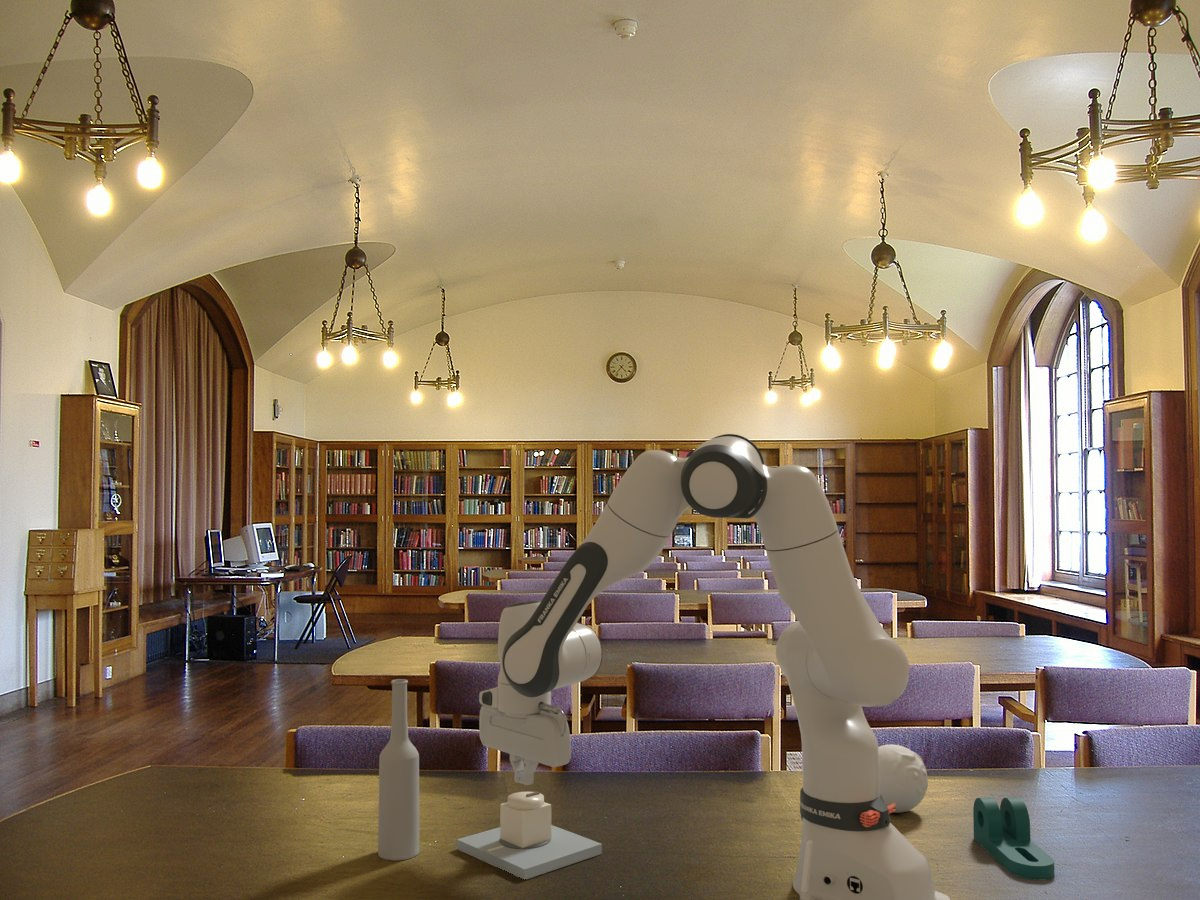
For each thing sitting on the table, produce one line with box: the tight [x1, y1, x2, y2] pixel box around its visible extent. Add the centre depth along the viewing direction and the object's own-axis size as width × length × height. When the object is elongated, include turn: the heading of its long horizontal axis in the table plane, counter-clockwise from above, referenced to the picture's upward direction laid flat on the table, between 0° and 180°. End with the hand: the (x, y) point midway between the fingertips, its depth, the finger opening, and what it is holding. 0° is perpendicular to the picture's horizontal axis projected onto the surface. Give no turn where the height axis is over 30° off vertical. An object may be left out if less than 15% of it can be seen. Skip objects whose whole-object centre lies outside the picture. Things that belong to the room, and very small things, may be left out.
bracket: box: [972, 797, 1055, 881], centre depth 159 cm, size 18×7×8 cm, turn 179°
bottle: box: [377, 678, 420, 862], centre depth 163 cm, size 7×7×28 cm
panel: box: [456, 824, 603, 881], centre depth 163 cm, size 18×16×7 cm
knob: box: [499, 791, 552, 848], centre depth 164 cm, size 6×6×7 cm
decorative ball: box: [878, 743, 929, 814], centre depth 183 cm, size 12×12×12 cm
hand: (523, 783), depth 164 cm, fingers closed
